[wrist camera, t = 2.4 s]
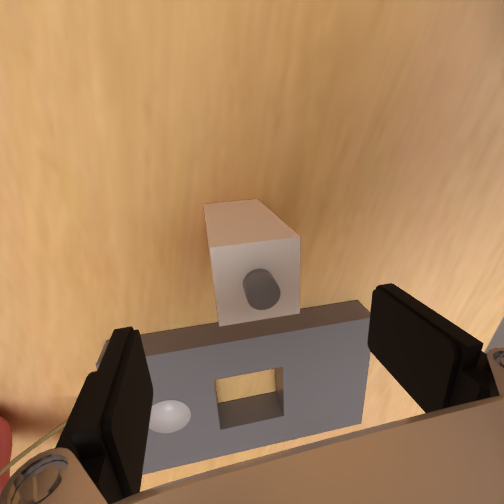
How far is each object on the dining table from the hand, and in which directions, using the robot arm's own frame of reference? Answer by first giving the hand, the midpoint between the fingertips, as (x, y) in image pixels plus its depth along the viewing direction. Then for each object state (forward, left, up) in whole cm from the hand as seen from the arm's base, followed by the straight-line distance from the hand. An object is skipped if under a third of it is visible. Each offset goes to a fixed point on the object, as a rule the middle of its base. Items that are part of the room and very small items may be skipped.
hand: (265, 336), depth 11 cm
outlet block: (0, +16, -14) cm, 21 cm away
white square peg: (0, 0, -14) cm, 14 cm away
